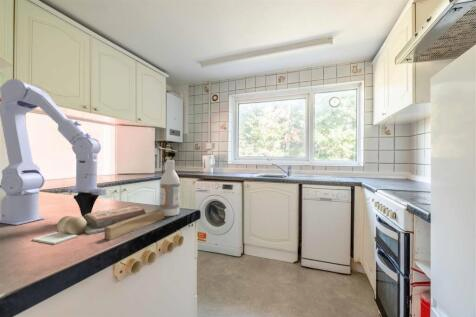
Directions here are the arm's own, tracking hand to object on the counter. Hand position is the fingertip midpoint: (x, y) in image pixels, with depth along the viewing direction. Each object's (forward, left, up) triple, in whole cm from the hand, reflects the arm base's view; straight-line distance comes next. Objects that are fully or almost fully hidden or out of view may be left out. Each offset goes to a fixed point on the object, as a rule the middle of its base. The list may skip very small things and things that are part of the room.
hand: (86, 215), depth 74 cm
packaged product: (+12, 0, -2) cm, 12 cm away
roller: (+8, -13, 0) cm, 16 cm away
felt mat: (+9, -15, -1) cm, 17 cm away
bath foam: (+21, +16, -2) cm, 26 cm away
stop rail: (+21, 0, -1) cm, 21 cm away
